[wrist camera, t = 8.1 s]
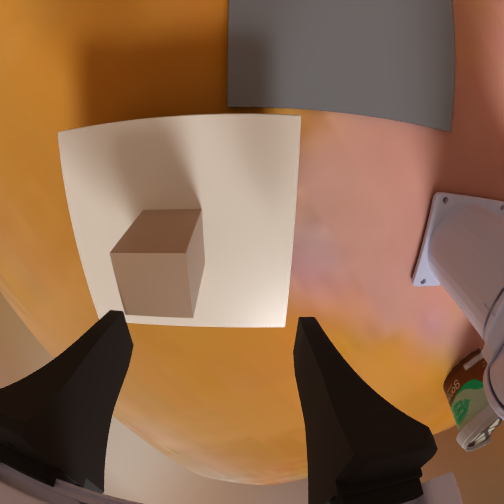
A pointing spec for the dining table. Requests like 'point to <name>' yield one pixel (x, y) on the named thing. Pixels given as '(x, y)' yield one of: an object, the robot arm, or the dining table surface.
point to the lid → (186, 216)
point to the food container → (471, 402)
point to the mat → (345, 57)
